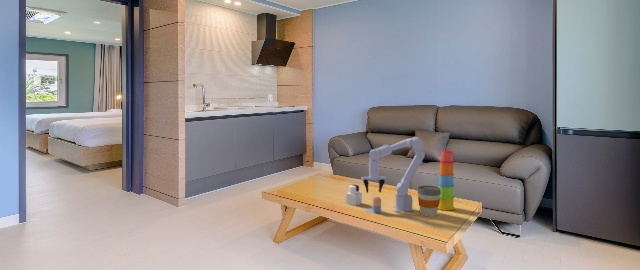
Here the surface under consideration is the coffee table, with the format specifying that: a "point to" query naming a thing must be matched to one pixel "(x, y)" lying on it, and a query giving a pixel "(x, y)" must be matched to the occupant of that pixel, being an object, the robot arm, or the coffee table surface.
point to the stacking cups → (446, 181)
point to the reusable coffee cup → (429, 200)
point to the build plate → (369, 210)
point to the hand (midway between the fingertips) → (373, 192)
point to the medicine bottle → (354, 195)
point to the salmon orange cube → (376, 201)
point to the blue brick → (376, 209)
